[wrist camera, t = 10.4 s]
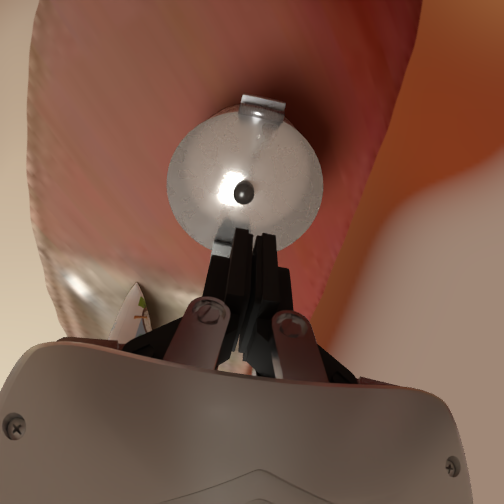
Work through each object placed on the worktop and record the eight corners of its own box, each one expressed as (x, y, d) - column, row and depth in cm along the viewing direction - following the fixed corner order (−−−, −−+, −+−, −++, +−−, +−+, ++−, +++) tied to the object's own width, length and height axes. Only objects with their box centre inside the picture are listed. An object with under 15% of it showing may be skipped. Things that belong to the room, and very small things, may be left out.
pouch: (132, 334, 73) (109, 398, 56) (124, 278, 62) (89, 349, 45) (161, 340, 73) (142, 407, 57) (158, 285, 63) (130, 360, 46)
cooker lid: (181, 93, 30) (175, 93, 28) (341, 127, 32) (347, 130, 30) (161, 273, 44) (156, 284, 42) (286, 296, 46) (287, 308, 43)
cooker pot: (204, 82, 40) (186, 86, 30) (320, 106, 42) (339, 119, 32) (182, 232, 55) (166, 272, 45) (278, 250, 57) (281, 293, 47)
